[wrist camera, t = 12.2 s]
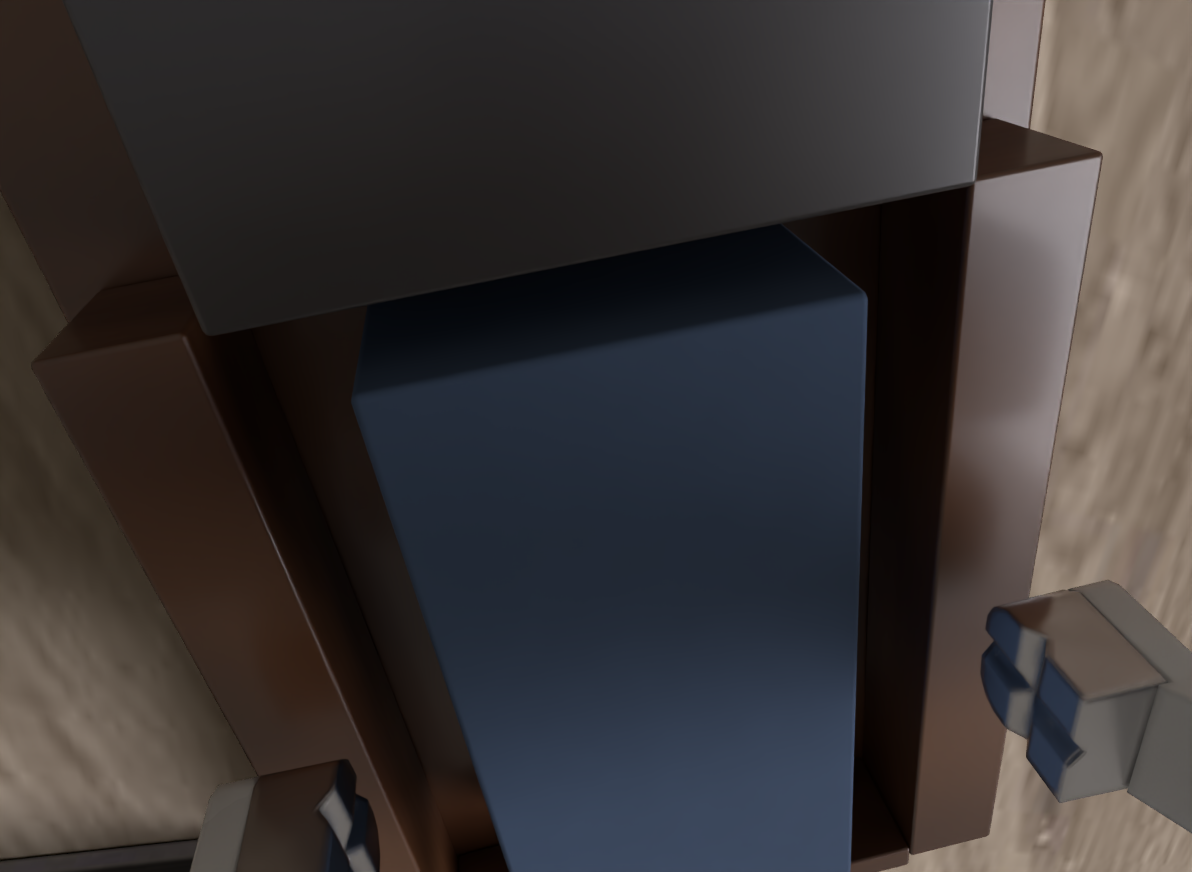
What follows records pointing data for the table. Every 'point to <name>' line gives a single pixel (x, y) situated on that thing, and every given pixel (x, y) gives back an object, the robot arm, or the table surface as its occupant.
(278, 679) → the pad base
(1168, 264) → the table surface
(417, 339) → the loose pad
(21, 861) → the portable cd player
